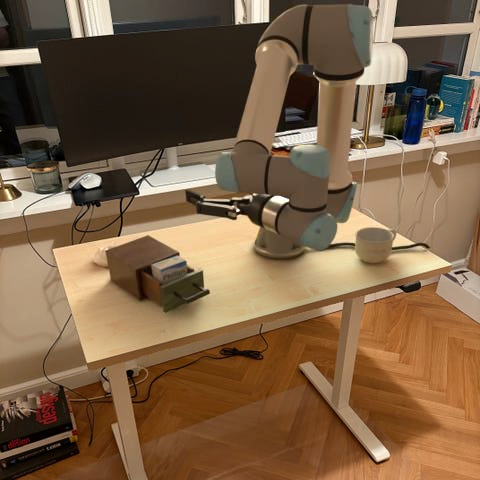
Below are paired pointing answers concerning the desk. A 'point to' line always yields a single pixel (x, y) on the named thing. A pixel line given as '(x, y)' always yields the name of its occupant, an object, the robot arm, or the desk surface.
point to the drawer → (173, 289)
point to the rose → (102, 255)
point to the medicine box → (169, 269)
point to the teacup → (374, 244)
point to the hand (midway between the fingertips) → (209, 187)
